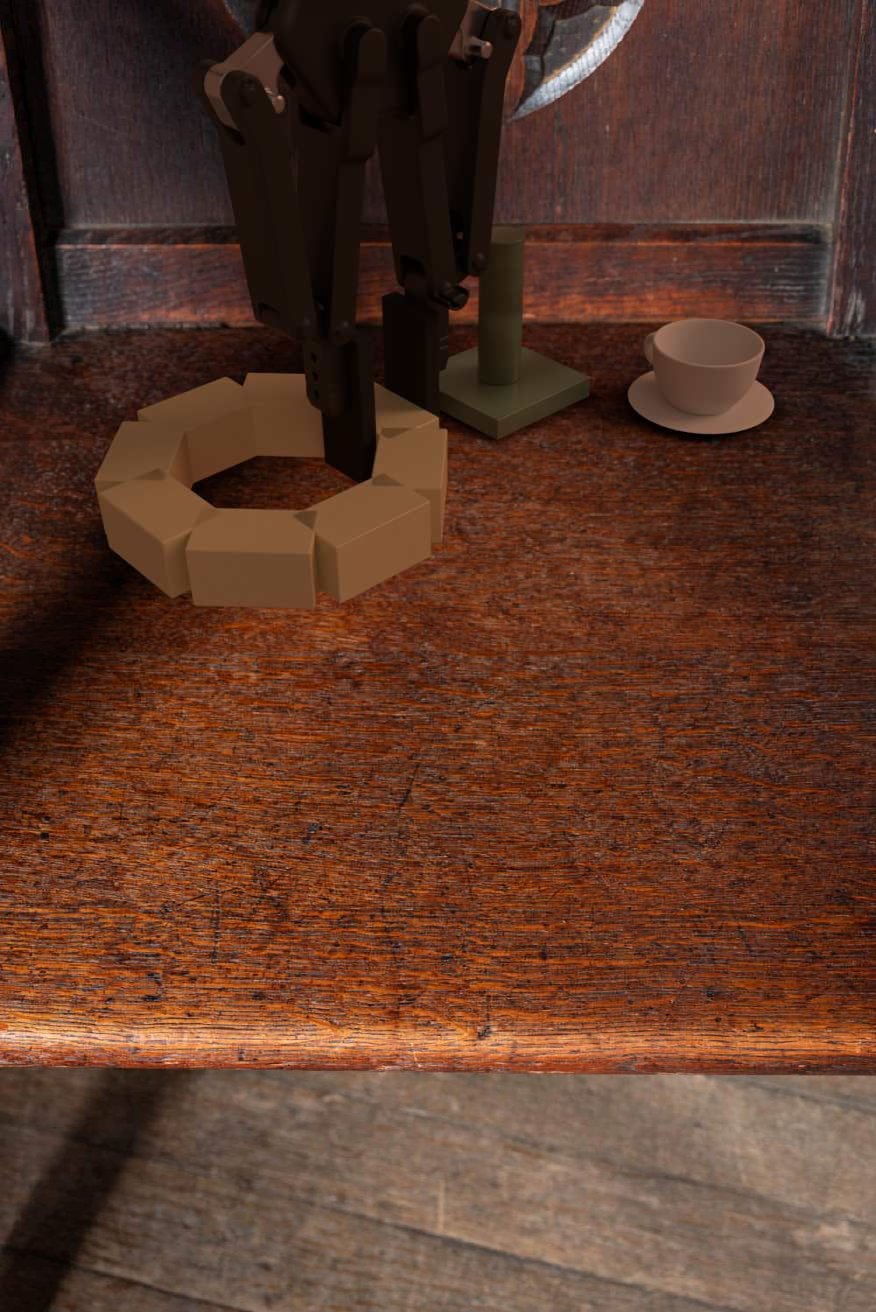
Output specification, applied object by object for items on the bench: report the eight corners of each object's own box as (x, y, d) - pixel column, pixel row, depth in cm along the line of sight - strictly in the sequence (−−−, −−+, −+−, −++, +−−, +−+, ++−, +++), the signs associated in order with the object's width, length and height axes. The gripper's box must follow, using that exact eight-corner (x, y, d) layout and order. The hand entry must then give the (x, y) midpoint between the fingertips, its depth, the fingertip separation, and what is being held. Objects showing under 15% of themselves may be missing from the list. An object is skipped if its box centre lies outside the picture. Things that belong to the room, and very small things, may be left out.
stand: (408, 393, 89) (404, 233, 82) (500, 354, 94) (503, 199, 86) (497, 440, 84) (500, 273, 76) (589, 396, 88) (600, 235, 81)
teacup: (801, 403, 87) (813, 341, 84) (716, 456, 82) (725, 391, 79) (684, 358, 93) (692, 297, 90) (597, 404, 87) (602, 342, 84)
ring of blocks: (52, 501, 53) (39, 447, 51) (311, 395, 59) (307, 344, 58) (241, 656, 45) (233, 598, 43) (513, 513, 52) (515, 459, 50)
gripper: (214, -153, 33) (287, 566, 48) (615, -203, 41) (571, 427, 57) (72, -179, 38) (180, 489, 53) (461, -219, 46) (458, 370, 61)
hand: (382, 456), depth 55 cm, fingers closed on ring of blocks, 3 cm apart
